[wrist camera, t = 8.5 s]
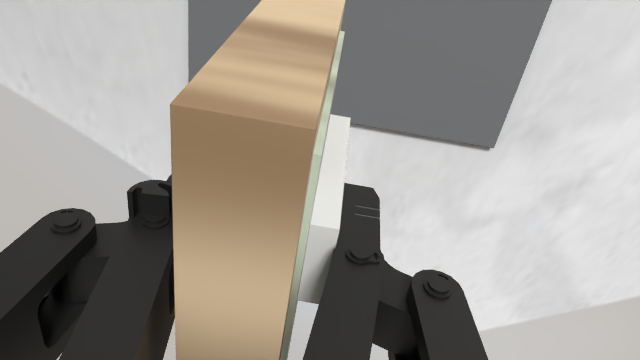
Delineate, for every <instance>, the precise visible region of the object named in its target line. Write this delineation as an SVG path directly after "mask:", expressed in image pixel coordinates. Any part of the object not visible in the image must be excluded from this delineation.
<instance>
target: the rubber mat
mask: <svg viewBox="0 0 640 360" xmlns="http://www.w3.org/2000/svg"><path fill="white" fill-rule="evenodd" d="M261 1H262V0H189V82H190V81H191V80H192V79H193V78H194V76H195V75H196V74H197V73H198V72H199V71H200V70H201V69H202V67H203V66H204V65H205V64H206V63H207V62H208V61H209V59H210V58H211V57H212V56H213V55H214V54H215V53H216V52H217V50H218V49H219V48H220V47H221V46H222V45H223V44H224V42H225V41H226V40H227V39H228V38H229V37H230V36H231V35H232V33H233V32H234V31H235V30H236V29H237V28H238V27H239V25H240V24H241V23H242V22H243V21H244V20H245V19H246V18H247V16H248V15H249V14H250V13H251V12H252V11H253V10H254V8H255V7H256V6H257V5H258V4H259V3H260V2H261ZM551 2H552V0H346V2H345V7H344V13H343V19H342V25H341V31H344V32H345V33H344V39H343V45H342V51H341V56H340V62H339V68H338V74H337V79H336V85H335V91H334V97H333V102H332V108H331V114H332V115H337V116H343V117H349V118H351V119H350V123H353V124H358V125H364V126H370V127H376V128H381V129H387V130H393V131H398V132H404V133H410V134H416V135H421V136H427V137H433V138H438V139H444V140H450V141H456V142H461V143H467V144H473V145H478V146H484V147H490V148H494V146H495V144H496V141H497V139H498V136H499V134H500V131H501V129H502V126H503V124H504V121H505V118H506V116H507V113H508V111H509V108H510V106H511V103H512V101H513V98H514V96H515V93H516V91H517V88H518V85H519V83H520V80H521V78H522V75H523V73H524V70H525V68H526V65H527V63H528V60H529V58H530V55H531V52H532V50H533V47H534V45H535V42H536V40H537V37H538V35H539V32H540V30H541V27H542V25H543V22H544V19H545V17H546V14H547V12H548V9H549V7H550V4H551Z"/></svg>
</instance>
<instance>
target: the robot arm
mask: <svg viewBox="0 0 640 360" xmlns="http://www.w3.org/2000/svg"><path fill="white" fill-rule="evenodd" d="M350 119H351V118H349V117H343V116H337V115H332V114H330V120H329V125H328V131H327V136H326V141H325V147H324V152H323V158H322V163H321V169H320V174H319V180H318V185H317V191H316V196H315V202H314V207H313V213H312V218H311V224H310V229H309V235H308V241H307V247H306V252H305V258H304V264H303V270H302V276H301V281H300V287H299V293H298V299H297V300H299V301H305V302H310V303H316V304H319V306H318V310H317V313H316V316H315V320H314V323H313V327H312V330H311V334H310V337H309V340H308V343H307V347H306V351H305V354H304V357H303V360H369V359H370V353H371V347H372V343H373V344H375V345H378V346H380V347H382V348H384V349H386V350H388V357H389V360H488V358H487V355H486V352H485V349H484V347H483V344H482V341H481V338H480V336H479V333H478V330H477V327H476V325H475V322H474V319H473V317H472V314H471V311H470V308H469V306H468V303H467V300H466V297H465V295H464V292H463V290H462V288H461V286H460V285H459V283H458V282H457V281H455V280H454V279H453V278H452V277H451V276H449V275H447V274H445V273H443V272H440V271H436V270H422V271H420V272H418V273H416V274H415V275H414V276H413V277H411V276H409V275H407V274H404V273H402V272H400V271H398V270H396V269H394V268H393V267H392V266H390V265H389V264H388V263H387V262H386V261H385V260H384V255H383V254H382V252H381V250H380V219H379V218H380V211H379V209H380V200H379V197H378V195H377V194H376V192H375V190H374V189H373V188H370V187H364V186H359V185H353V184H347V183H344V180H345V170H346V160H347V150H348V139H349V129H350ZM127 197H128V209H129V219H128V221H125V222H119V223H103V224H96V223H95V218H94V217H93V216H92V214H91V213H90V212H87V211H85V210H82V209H75V208H71V209H61V210H58V211H54V212H51V213H49V214H48V215H46V216H44V217H43V218H41V219H40V220H39V221H38V222H37V223H36V224H34V225H33V226H32V227H31V228H29V229H28V230H27V231H26V232H25V233H23V234H22V235H21V236H20V237H19V238H17V239H16V240H15V241H14V242H13V243H11V244H10V245H9V246H8V247H7V248H5V249H4V250H3V251H2V252H1V253H0V360H56V359H57V358H58V357H59V356H60V354H61V353H62V355H61V356H60V359H59V360H163V357H164V353H165V350H166V346H167V343H168V340H169V336H170V332H171V329H172V325H173V322H174V319H175V293H174V250H173V206H172V174H171V175H170V176H169V178H168V179H167V181H162V180H148V181H144V182H140V183H138V184H136V185H134V186H132V187H131V188H130V189H129V190H128V191H127Z"/></svg>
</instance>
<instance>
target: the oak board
mask: <svg viewBox="0 0 640 360" xmlns="http://www.w3.org/2000/svg"><path fill="white" fill-rule="evenodd" d="M345 2H346V0H262V1H261V2H260V3H259V4H258V5H257V6H256V7H255V8H254V10H253V11H252V12H251V13H250V14H249V15H248V16H247V18H246V19H245V20H244V21H243V22H242V23H241V24H240V25H239V27H238V28H237V29H236V30H235V31H234V32H233V33H232V35H231V36H230V37H229V38H228V39H227V40H226V41H225V42H224V44H223V45H222V46H221V47H220V48H219V49H218V50H217V52H216V53H215V54H214V55H213V56H212V57H211V58H210V59H209V61H208V62H207V63H206V64H205V65H204V66H203V67H202V69H201V70H200V71H199V72H198V73H197V74H196V75H195V76H194V78H193V79H192V80H191V81H190V82H189V83H188V84H187V86H186V87H185V88H184V89H183V90H182V91H181V92H180V93H179V95H178V96H177V97H176V98H175V99H174V100H173V101H172V103H171V104H170V120H171V163H172V206H173V250H174V293H175V333H176V334H175V335H176V360H287V357H288V351H289V346H290V340H291V335H292V329H293V324H294V318H295V313H296V306H297V301H298V300H297V299H298V293H299V287H300V281H301V276H302V270H303V264H304V258H305V252H306V247H307V241H308V235H309V229H310V224H311V218H312V213H313V207H314V202H315V196H316V191H317V185H318V180H319V174H320V169H321V163H322V158H323V152H324V147H325V141H326V136H327V131H328V125H329V120H330V114H331V108H332V102H333V97H334V91H335V85H336V79H337V74H338V68H339V62H340V56H341V51H342V45H343V39H344V33H345V32H344V31H341V25H342V19H343V13H344V7H345Z"/></svg>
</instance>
